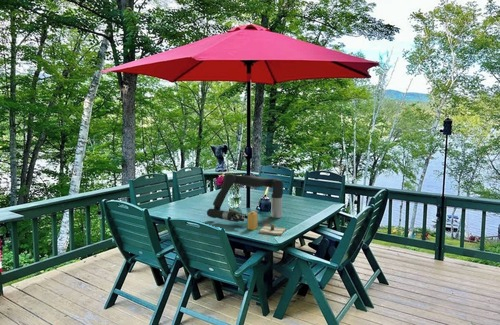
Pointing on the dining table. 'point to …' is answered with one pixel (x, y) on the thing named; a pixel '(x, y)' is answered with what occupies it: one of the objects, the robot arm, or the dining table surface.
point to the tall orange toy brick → (252, 220)
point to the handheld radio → (235, 211)
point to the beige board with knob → (272, 230)
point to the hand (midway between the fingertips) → (246, 218)
